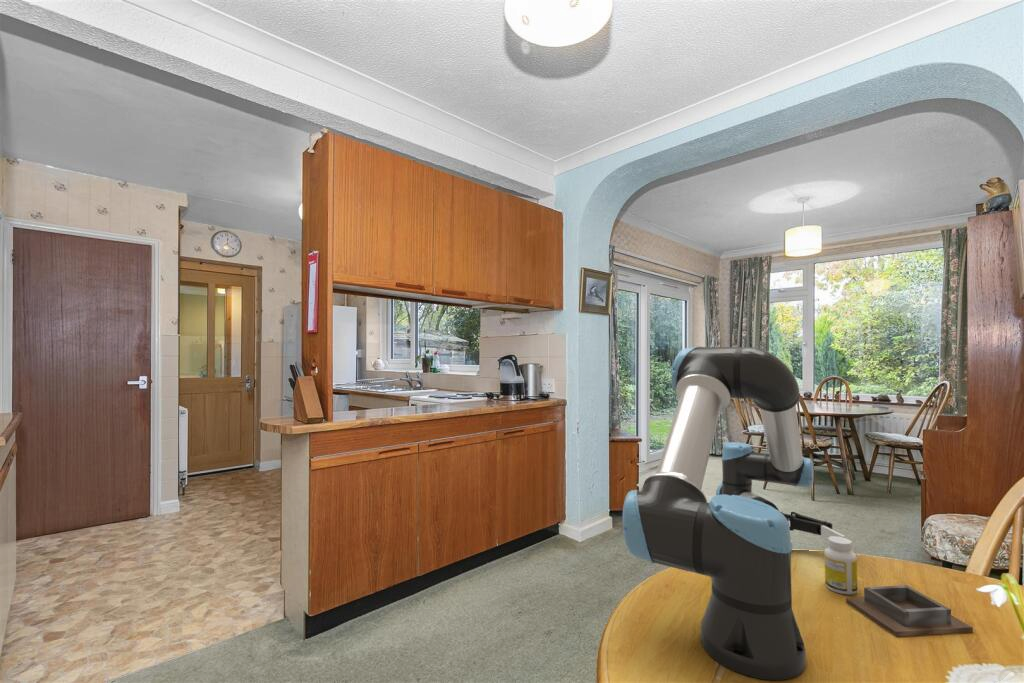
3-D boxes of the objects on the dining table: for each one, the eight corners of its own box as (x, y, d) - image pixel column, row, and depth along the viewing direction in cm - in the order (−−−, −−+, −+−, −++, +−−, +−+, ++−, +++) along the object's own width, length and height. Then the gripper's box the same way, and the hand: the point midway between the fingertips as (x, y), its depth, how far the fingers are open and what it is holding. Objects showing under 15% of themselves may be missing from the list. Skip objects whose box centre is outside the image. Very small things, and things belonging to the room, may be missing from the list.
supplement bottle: (847, 582, 100) (846, 535, 101) (863, 596, 95) (862, 545, 95) (819, 581, 101) (818, 534, 101) (834, 595, 96) (833, 544, 96)
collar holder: (896, 636, 82) (895, 616, 82) (846, 602, 93) (845, 584, 93) (972, 631, 83) (972, 612, 83) (914, 598, 94) (914, 581, 94)
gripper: (802, 523, 128) (868, 558, 107) (711, 527, 126) (760, 563, 105) (802, 495, 128) (867, 524, 107) (711, 498, 126) (759, 528, 105)
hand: (814, 543), depth 106 cm, fingers open, 13 cm apart
